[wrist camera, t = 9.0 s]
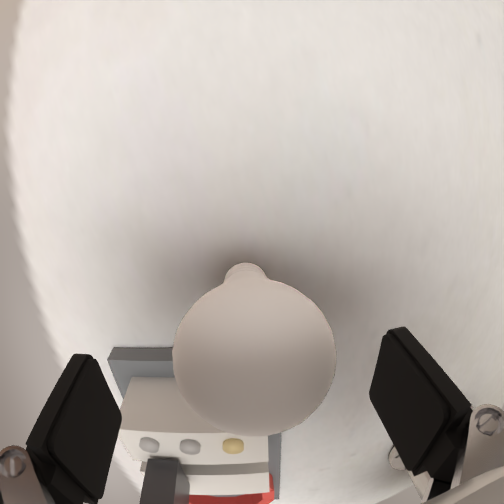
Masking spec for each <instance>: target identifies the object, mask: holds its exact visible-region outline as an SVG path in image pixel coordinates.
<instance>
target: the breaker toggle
mask: <svg viewBox="0 0 504 504" xmlns="http://www.w3.org/2000/svg"><path fill="white" fill-rule="evenodd" d="M189 492H190V483H189V481H188V479H187V477H186V475H185V473H184V471H183V469H182V467H181V465H180V463H179V461H178V460H164V459H151V458H148V461H147V466H146V471H145V476H144V481H143V487H142V492H141V498H140V504H189Z"/></svg>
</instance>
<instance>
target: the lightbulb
mask: <svg viewBox="0 0 504 504" xmlns="http://www.w3.org/2000/svg"><path fill="white" fill-rule="evenodd" d="M172 357H173V370H174V375H175V378H176V381H177V384H178V387H179V390H180V393H181V395H182V396H183V398H184V399H185V401H186V402H187V403H188V405H189V406H190V407H191V408H192V410H193V411H194V412H195V413H196V414H197V415H199V416H200V417H201V418H202V419H203V420H205V421H206V422H208V423H209V424H211V425H212V426H214V427H215V428H217V429H219V430H222V431H224V432H227V433H230V434H234V435H240V436H248V437H255V436H268V435H273V434H277V433H281V432H283V431H286V430H288V429H291V428H293V427H295V426H297V425H298V424H300V423H302V422H303V421H304V420H305V419H307V418H308V417H309V416H310V415H311V414H312V413H313V412H314V411H315V410H316V409H317V407H318V406H319V405H320V404H321V403H322V401H323V400H324V398H325V396H326V395H327V393H328V391H329V389H330V386H331V384H332V381H333V378H334V375H335V365H336V348H335V343H334V338H333V333H332V330H331V328H330V326H329V324H328V322H327V320H326V318H325V316H324V315H323V313H322V311H321V310H320V309H319V308H318V307H317V306H316V304H315V303H314V302H313V301H311V300H310V299H309V298H307V297H306V296H305V295H303V294H302V293H301V292H299V291H298V290H297V289H295V288H293V287H291V286H289V285H286V284H284V283H282V282H278V281H274V280H269V279H268V278H267V277H266V275H265V273H264V271H263V270H262V269H261V268H260V267H258V266H257V265H255V264H252V263H240V264H237V265H235V266H233V267H232V268H231V269H230V270H229V271H228V272H227V274H226V276H225V279H224V282H223V284H222V285H220V286H218V287H216V288H214V289H212V290H210V291H208V292H207V293H206V294H205V295H203V296H202V297H201V298H200V299H198V300H197V301H196V302H195V304H194V305H193V306H192V307H191V308H190V310H189V311H188V312H187V313H186V315H185V316H184V317H183V319H182V321H181V323H180V325H179V327H178V329H177V332H176V335H175V339H174V344H173V350H172Z"/></svg>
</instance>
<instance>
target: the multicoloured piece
mask: <svg viewBox="0 0 504 504" xmlns="http://www.w3.org/2000/svg"><path fill="white" fill-rule="evenodd" d="M172 350H173V348H113V350H112V352H111V353H110V355H109V357H108V359H107V360H108V363H109V366H110V368H111V371H112V373H113V376H114V378H115V381H116V383H117V386H118V388H119V390H120V393H121V395H122V397H123V402H122V405H121V408H120V412H121V415H122V422H121V426H120V430H119V433H118V437H119V439H120V441H121V442H122V444H123V446H124V447H125V449H126V450H127V452H128V454H129V455H130V457H131V458H132V460H135V461H142V464H141V469H140V472H141V473H142V475H143V476H145V471H146V466H147V461H148V458H151V459H164V460H178V461H179V463H180V465H181V467H182V469H183V471H184V473H185V475H186V477H187V479H188V481H189V483H190V492H189V504H269V503H270V502H272V501H273V500H274V499H279V488H280V458H281V433H277V434H273V435H268V436H255V437H248V436H240V435H234V434H230V433H227V432H224V431H222V430H219V429H217V428H215V427H214V426H212V425H211V424H209V423H208V422H206V421H205V420H203V419H202V418H201V417H200V416H199V415H197V414H196V413H195V412H194V411H193V410H192V408H191V407H190V406H189V405H188V403H187V402H186V401H185V399H184V398H183V396H182V395H181V393H180V390H179V387H178V384H177V381H176V378H175V375H174V370H173V357H172Z"/></svg>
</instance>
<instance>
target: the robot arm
mask: <svg viewBox="0 0 504 504" xmlns="http://www.w3.org/2000/svg"><path fill="white" fill-rule="evenodd" d="M369 396H370V400H371V402H372V404H373V406H374V408H375V410H376V411H377V413H378V415H379V417H380V419H381V421H382V423H383V425H384V427H385V429H386V431H387V433H388V435H389V436H390V438H391V440H392V442H393V444H394V447H393V449H392V450H391V452H390V455H389V462H390V464H391V466H392V467H393V468H394V469H397V470H405V469H407V471H408V473H409V475H410V477H411V479H412V481H413V483H414V485H415V487H416V489H417V491H418V493H419V496H420V498H421V500H422V503H421V504H504V411H502V409H500V408H499V407H497V406H495V405H491V404H484V405H480V406H478V407H477V408H475V409H473V407H472V406H471V404H470V402H469V401H468V400H467V399H466V397H465V396H464V395H463V394H462V392H461V391H460V390H459V389H458V387H457V386H456V385H455V384H454V383H453V381H452V380H451V379H450V378H449V376H448V375H447V374H446V373H445V372H444V371H443V369H442V368H441V367H440V366H439V365H438V363H437V362H436V361H435V360H434V359H433V358H432V356H431V355H430V354H429V353H428V352H427V351H426V349H425V348H424V347H423V346H422V345H421V344H420V343H419V342H418V340H417V339H416V338H415V337H414V336H413V335H412V334H411V333H410V331H409V330H408V329H407V328H406V327H399V328H395V329H390V330H388V331H387V334H386V335H384V336H383V338H382V342H381V347H380V351H379V356H378V360H377V364H376V368H375V372H374V376H373V380H372V383H371V387H370V391H369ZM121 422H122V415H121V412H120V410H119V408H118V406H117V404H116V401H115V399H114V397H113V395H112V393H111V391H110V389H109V387H108V384H107V382H106V380H105V378H104V375H103V373H102V371H101V368H100V366H99V364H98V362H97V360H96V359H93V357H92V356H91V355H89V354H74V355H73V356H72V358H71V359H70V361H69V363H68V364H67V366H66V368H65V369H64V371H63V373H62V375H61V377H60V378H59V380H58V382H57V383H56V385H55V387H54V389H53V391H52V393H51V394H50V396H49V398H48V400H47V402H46V404H45V406H44V407H43V409H42V411H41V413H40V415H39V417H38V419H37V421H36V423H35V425H34V427H33V429H32V431H31V433H30V435H29V437H28V440H27V442H26V445H27V448H26V450H25V449H24V448H22V447H20V446H15V445H12V446H8V447H6V448H4V449H3V450H1V451H0V504H83V502H85V503H89V504H97V503H98V499H101V498H102V497H103V494H104V489H105V484H106V481H107V476H108V472H109V468H110V463H111V460H112V456H113V452H114V448H115V444H116V441H117V437H118V433H119V430H120V426H121Z"/></svg>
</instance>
